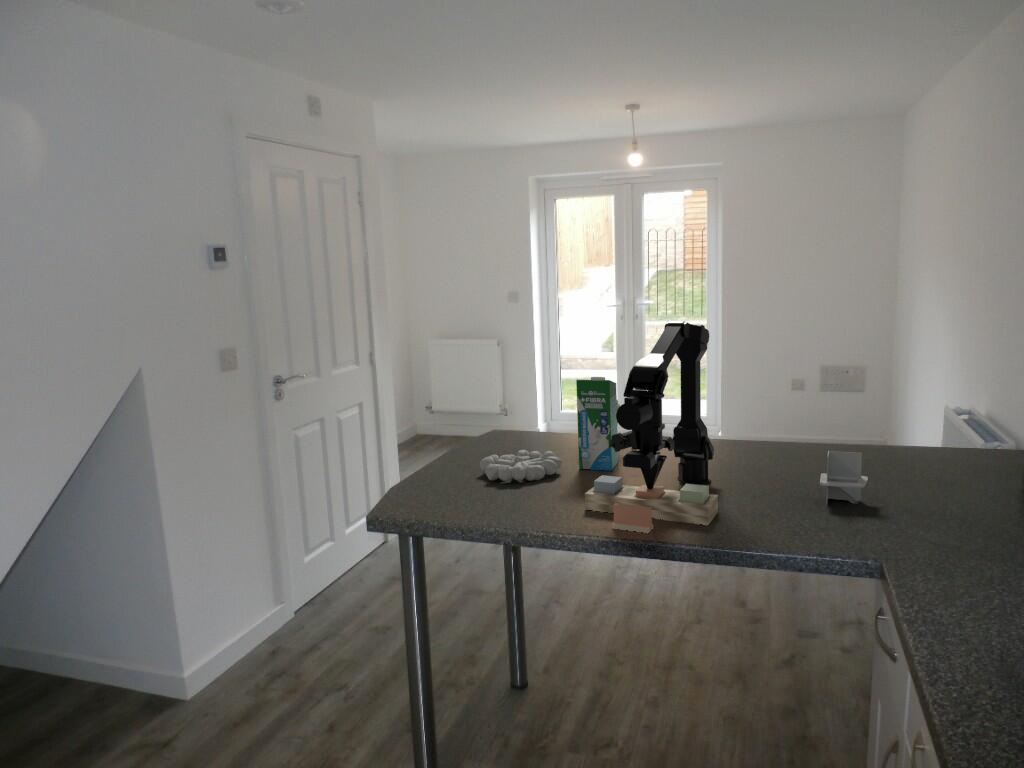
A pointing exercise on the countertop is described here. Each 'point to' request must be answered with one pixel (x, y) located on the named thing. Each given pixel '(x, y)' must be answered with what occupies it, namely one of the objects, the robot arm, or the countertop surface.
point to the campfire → (521, 465)
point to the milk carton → (596, 423)
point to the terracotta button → (650, 492)
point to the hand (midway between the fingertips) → (650, 488)
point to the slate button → (608, 484)
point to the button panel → (656, 505)
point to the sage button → (694, 493)
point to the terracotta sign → (632, 518)
